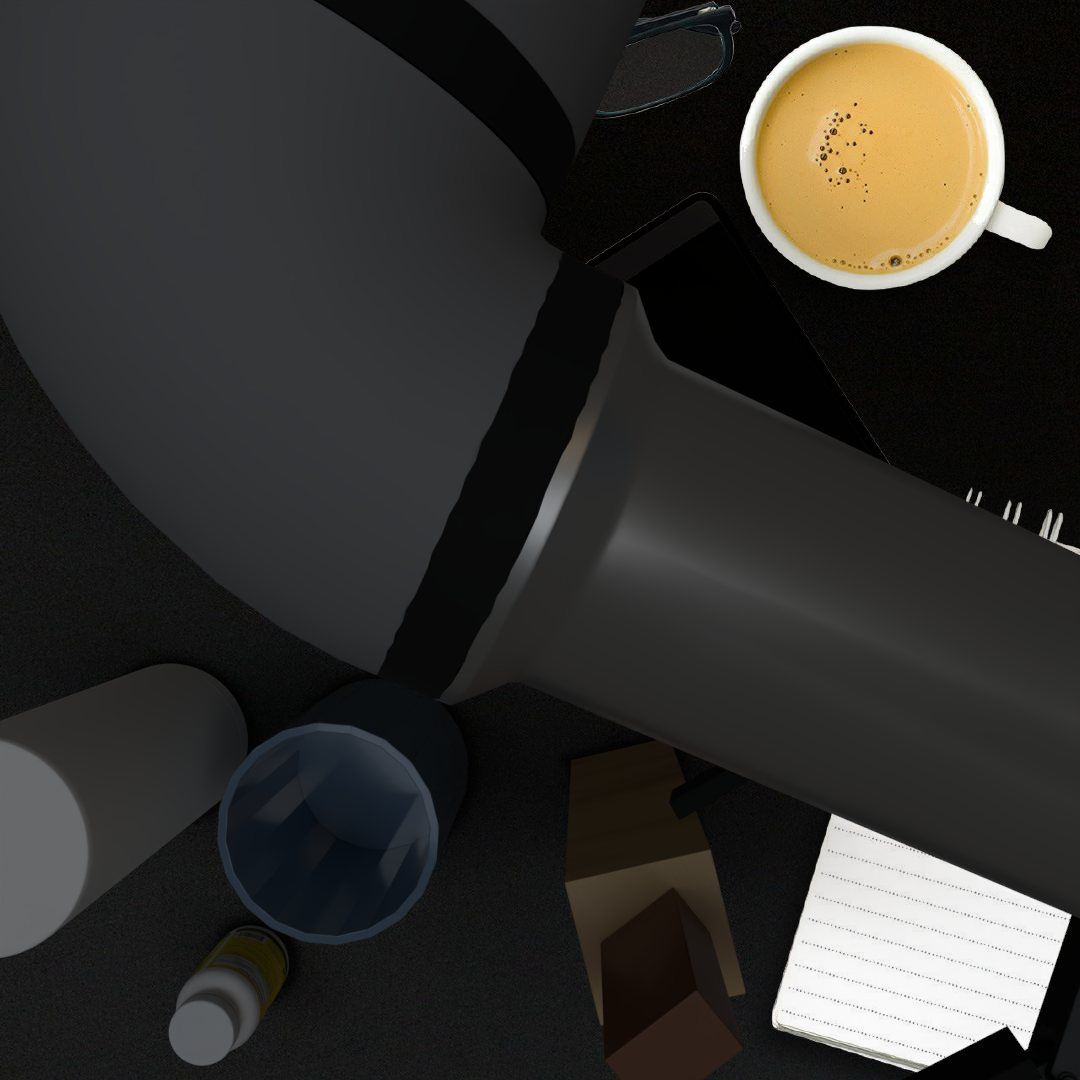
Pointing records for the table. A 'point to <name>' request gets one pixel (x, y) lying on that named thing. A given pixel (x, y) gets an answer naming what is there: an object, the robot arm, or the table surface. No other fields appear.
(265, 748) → the bin
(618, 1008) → the chocolate box
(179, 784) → the cylinder
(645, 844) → the stand
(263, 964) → the pill bottle
